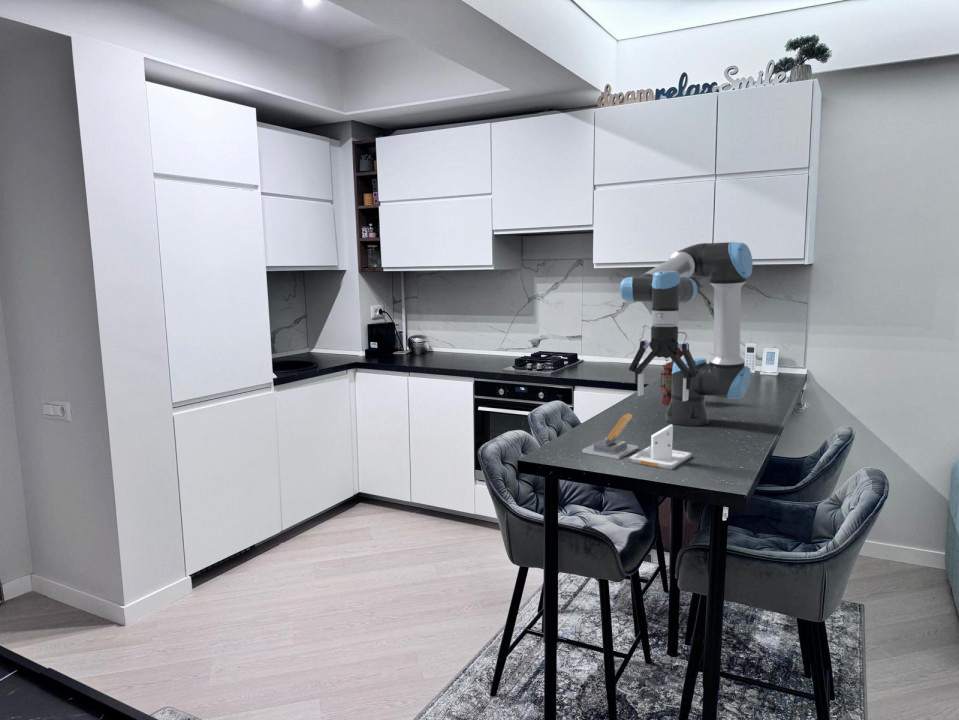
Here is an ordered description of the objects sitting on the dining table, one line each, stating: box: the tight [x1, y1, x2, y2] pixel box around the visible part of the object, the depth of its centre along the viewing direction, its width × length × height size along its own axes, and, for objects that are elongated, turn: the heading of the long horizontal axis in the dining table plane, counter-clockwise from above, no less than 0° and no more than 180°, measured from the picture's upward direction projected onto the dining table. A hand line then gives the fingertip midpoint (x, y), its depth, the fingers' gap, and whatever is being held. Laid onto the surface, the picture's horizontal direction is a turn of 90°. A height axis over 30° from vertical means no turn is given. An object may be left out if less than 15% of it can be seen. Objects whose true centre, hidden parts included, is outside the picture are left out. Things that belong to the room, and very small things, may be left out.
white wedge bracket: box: [648, 423, 674, 459], centre depth 196 cm, size 4×10×9 cm, turn 92°
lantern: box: [659, 331, 688, 406], centre depth 276 cm, size 12×12×30 cm
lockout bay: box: [627, 446, 692, 470], centre depth 197 cm, size 16×13×1 cm
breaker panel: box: [582, 438, 639, 460], centre depth 206 cm, size 14×12×2 cm
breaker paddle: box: [603, 412, 633, 444], centre depth 204 cm, size 5×2×11 cm
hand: (662, 397), depth 194 cm, fingers open, 13 cm apart
